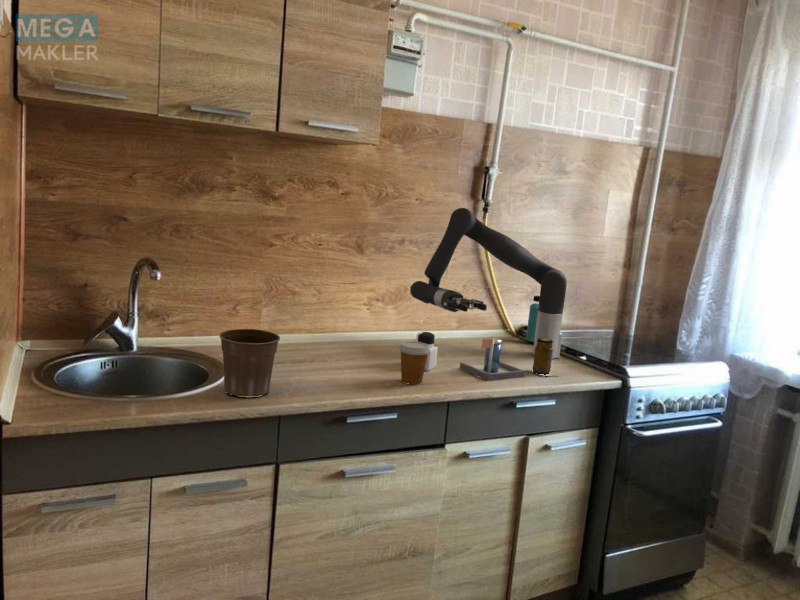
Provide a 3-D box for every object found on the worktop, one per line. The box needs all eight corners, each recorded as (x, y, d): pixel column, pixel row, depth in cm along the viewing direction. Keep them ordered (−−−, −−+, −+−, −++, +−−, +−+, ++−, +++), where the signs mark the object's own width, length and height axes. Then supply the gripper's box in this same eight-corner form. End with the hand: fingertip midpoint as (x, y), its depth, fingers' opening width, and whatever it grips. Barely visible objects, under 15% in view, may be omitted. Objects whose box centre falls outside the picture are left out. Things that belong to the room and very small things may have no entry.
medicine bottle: (436, 367, 230) (439, 332, 228) (428, 371, 224) (431, 336, 222) (417, 363, 233) (420, 329, 231) (408, 367, 226) (411, 332, 224)
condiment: (543, 369, 239) (547, 336, 237) (558, 376, 232) (562, 342, 230) (526, 370, 236) (530, 337, 234) (541, 377, 229) (545, 343, 227)
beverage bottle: (542, 345, 277) (548, 298, 273) (526, 344, 277) (532, 296, 273) (539, 342, 283) (545, 295, 280) (523, 340, 283) (529, 294, 280)
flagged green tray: (451, 369, 229) (455, 328, 227) (495, 364, 240) (499, 326, 237) (479, 381, 217) (483, 339, 214) (524, 376, 227) (529, 336, 225)
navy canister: (495, 368, 233) (498, 337, 231) (500, 373, 228) (504, 341, 226) (481, 368, 232) (484, 337, 230) (486, 372, 227) (489, 341, 225)
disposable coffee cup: (417, 388, 204) (420, 350, 202) (390, 381, 208) (393, 344, 206) (432, 382, 212) (436, 345, 210) (406, 375, 217) (409, 339, 214)
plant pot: (286, 398, 185) (289, 341, 182) (228, 404, 176) (231, 344, 173) (263, 381, 198) (266, 327, 195) (209, 386, 189) (211, 330, 187)
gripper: (433, 290, 244) (461, 298, 231) (464, 289, 252) (493, 297, 239) (432, 310, 246) (459, 319, 232) (462, 309, 253) (491, 318, 240)
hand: (476, 308), depth 236 cm, fingers open, 8 cm apart
